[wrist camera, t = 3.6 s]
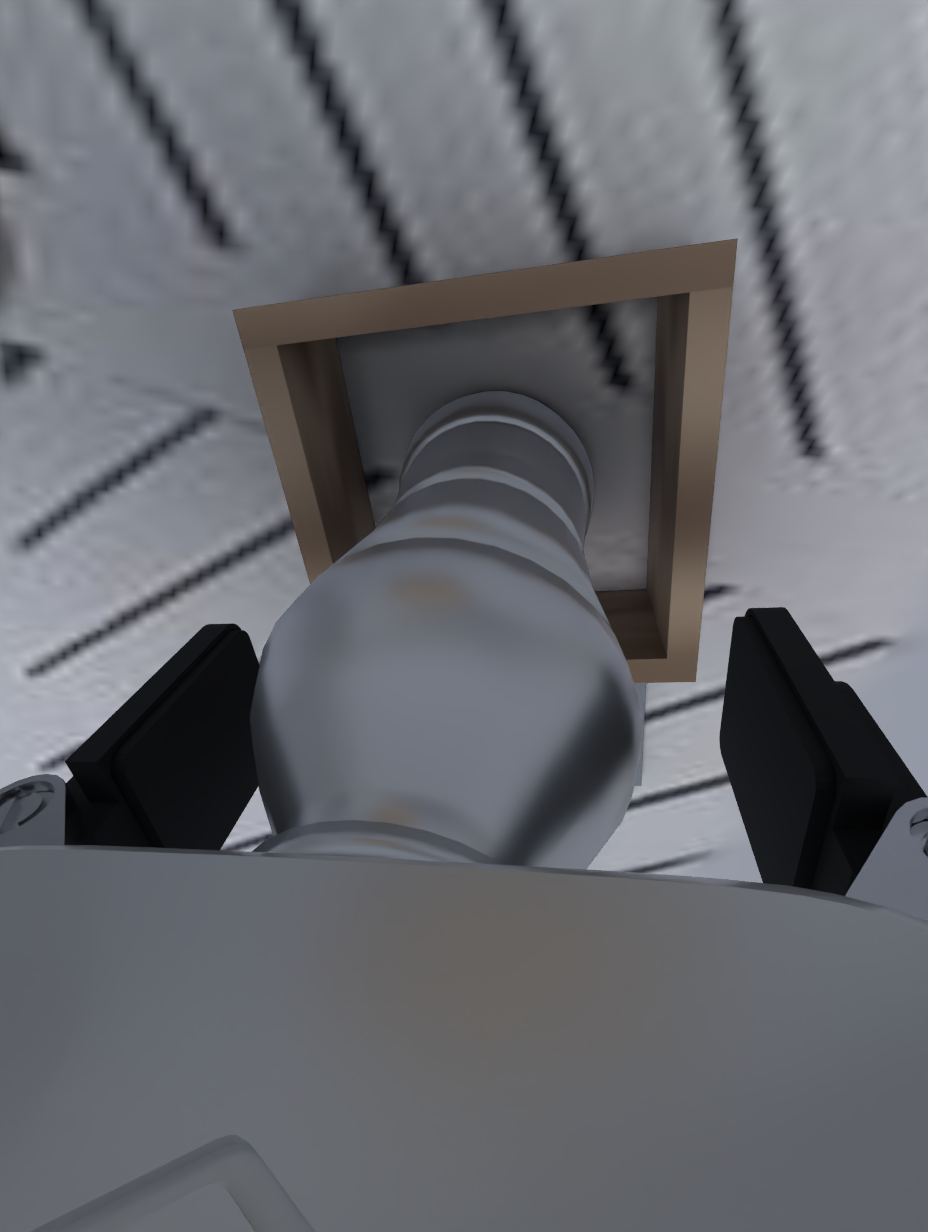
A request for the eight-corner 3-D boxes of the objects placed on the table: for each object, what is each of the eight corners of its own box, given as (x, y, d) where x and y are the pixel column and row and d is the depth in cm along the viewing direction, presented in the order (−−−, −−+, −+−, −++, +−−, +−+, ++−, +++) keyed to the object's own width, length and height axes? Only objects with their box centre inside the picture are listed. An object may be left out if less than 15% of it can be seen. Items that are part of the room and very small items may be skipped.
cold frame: (299, 301, 20) (232, 310, 16) (693, 245, 18) (737, 238, 14) (373, 621, 27) (339, 688, 22) (670, 609, 24) (695, 681, 20)
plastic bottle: (482, 337, 20) (101, 727, 3) (628, 457, 22) (923, 1181, 4) (385, 480, 23) (-74, 1072, 6) (518, 577, 25) (446, 1274, 8)
